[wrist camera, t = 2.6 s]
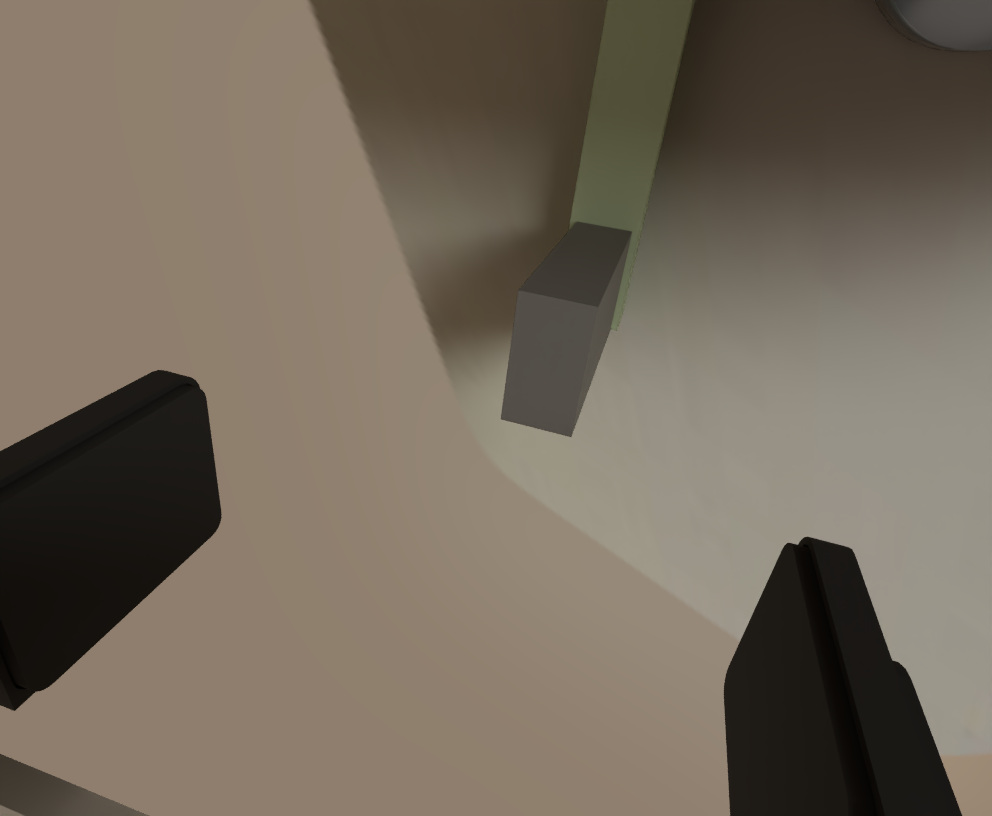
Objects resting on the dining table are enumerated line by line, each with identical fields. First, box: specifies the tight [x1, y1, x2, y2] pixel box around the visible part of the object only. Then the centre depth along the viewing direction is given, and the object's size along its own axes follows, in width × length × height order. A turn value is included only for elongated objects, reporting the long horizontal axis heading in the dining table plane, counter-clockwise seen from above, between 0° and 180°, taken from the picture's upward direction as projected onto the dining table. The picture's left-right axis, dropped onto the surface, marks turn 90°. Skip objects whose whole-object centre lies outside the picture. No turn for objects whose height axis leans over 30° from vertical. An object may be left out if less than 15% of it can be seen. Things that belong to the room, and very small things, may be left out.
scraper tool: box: [501, 0, 695, 437], centre depth 14 cm, size 2×10×8 cm, turn 174°
